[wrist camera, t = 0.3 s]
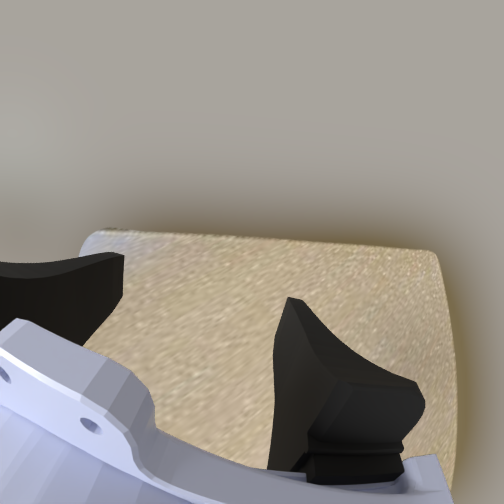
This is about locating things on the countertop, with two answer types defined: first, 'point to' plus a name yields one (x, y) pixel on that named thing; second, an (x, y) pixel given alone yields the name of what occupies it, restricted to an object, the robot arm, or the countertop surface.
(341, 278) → the countertop surface
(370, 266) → the countertop surface
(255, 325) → the countertop surface
